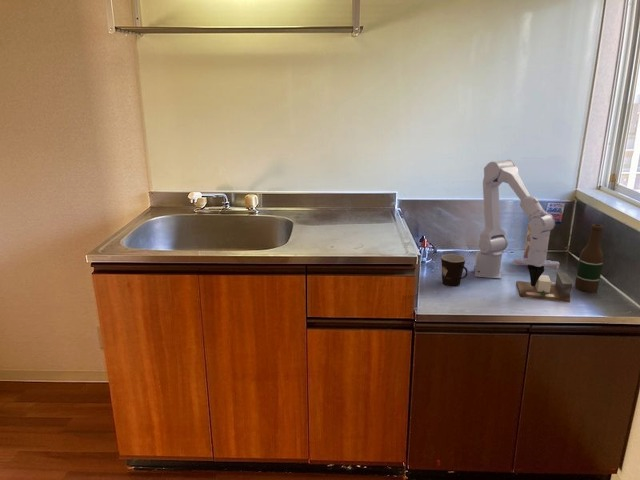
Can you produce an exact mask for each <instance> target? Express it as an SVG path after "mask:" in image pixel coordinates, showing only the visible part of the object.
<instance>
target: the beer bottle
mask: <svg viewBox="0 0 640 480" xmlns="http://www.w3.org/2000/svg"><path fill="white" fill-rule="evenodd" d="M590 227H591V231H590V235H589V239H588V242H587V245H586V246H585V247H584V248H583V249H582V250H581V252H580V254H579V260H578V265H577V269H576V276H575V282H574V287H575V289H576V290H579V291H581V292H584V293H589V294H590V293H594V292H595V293H596V292H598V291H599V290H598V289H599V286H600V281H601V275H602V272H603V270H602V269H603V264H604V253H603V251H602V249H601V239H602V234H603V233H602V231H603V230H604V227H603V225H602V224H598V223H593V224H592V225H591V226H590Z"/></svg>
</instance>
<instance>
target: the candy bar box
mask: <svg viewBox="0 0 640 480" xmlns="http://www.w3.org/2000/svg"><path fill="white" fill-rule="evenodd" d="M526 227H527V229H526V237H525V243H524V250H523V251H524V252H523V253H524V254H523V258H528V254H529V247H530V240H531V235H530V233H531V230H530V228H529V223H527V226H526ZM525 266H526V268H527V269H528V267H527V265H525Z"/></svg>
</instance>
